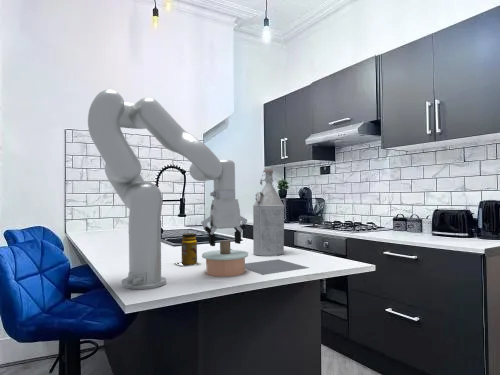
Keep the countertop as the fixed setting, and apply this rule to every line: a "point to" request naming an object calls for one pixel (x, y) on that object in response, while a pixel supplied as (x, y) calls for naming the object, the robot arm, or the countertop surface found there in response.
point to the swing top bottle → (268, 220)
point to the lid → (225, 252)
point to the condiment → (189, 249)
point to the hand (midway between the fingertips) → (225, 244)
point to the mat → (272, 266)
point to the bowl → (225, 267)
